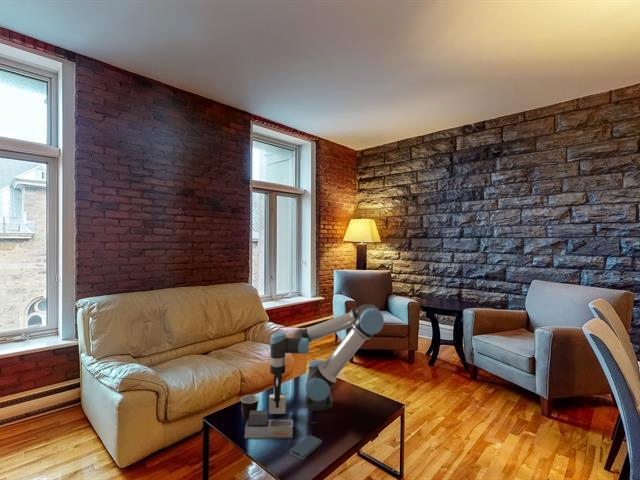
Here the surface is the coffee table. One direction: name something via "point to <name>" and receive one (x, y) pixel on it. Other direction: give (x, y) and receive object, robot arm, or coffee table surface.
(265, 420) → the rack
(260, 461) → the coffee table surface
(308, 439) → the smartphone
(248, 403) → the coffee mug
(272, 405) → the beige rectangular block
